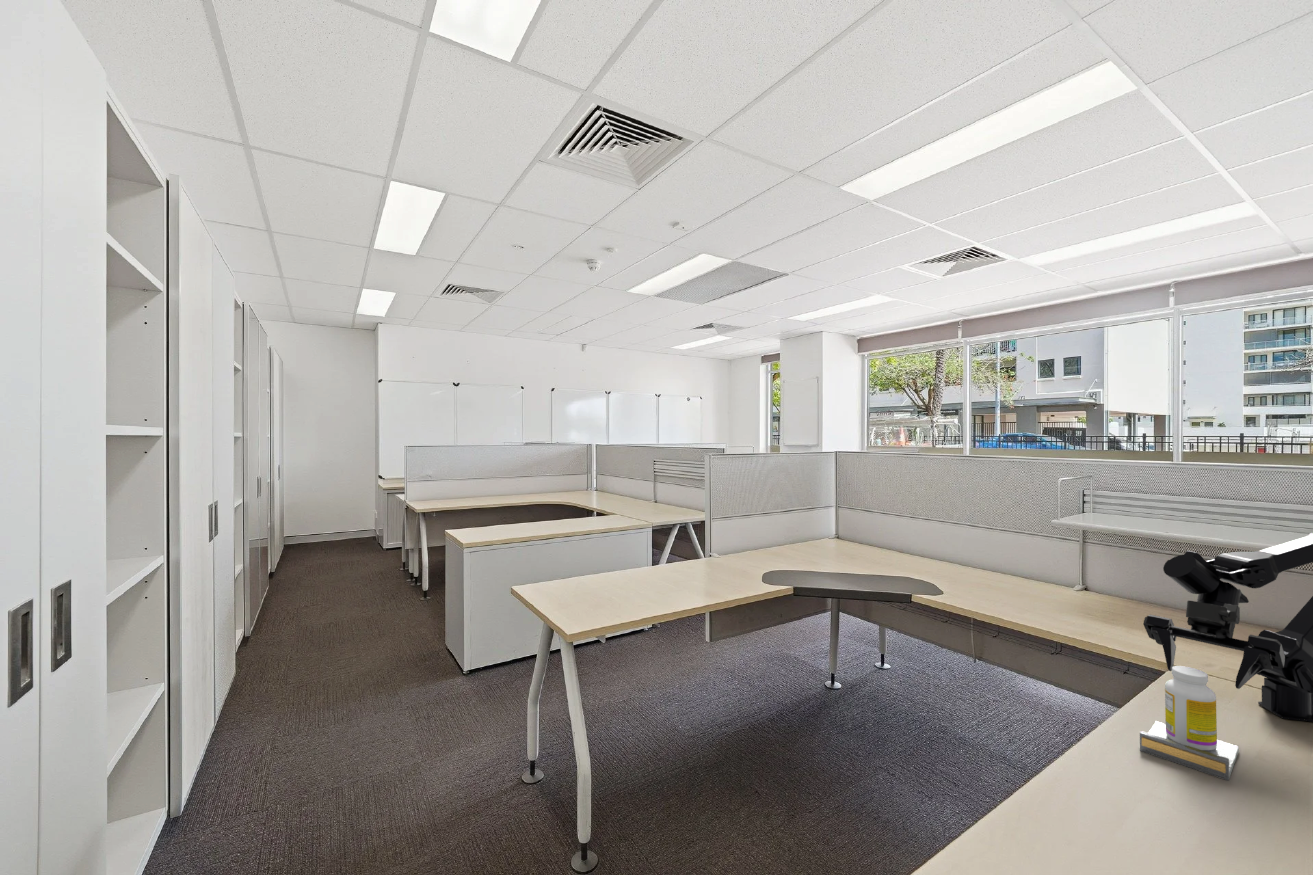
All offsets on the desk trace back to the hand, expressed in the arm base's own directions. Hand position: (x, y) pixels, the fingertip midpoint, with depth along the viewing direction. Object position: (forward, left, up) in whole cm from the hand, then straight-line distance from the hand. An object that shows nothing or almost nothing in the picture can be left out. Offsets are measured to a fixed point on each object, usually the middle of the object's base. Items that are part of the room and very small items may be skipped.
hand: (1202, 678), depth 102 cm
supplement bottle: (+5, +6, -10) cm, 12 cm away
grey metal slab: (+6, +7, -11) cm, 14 cm away
